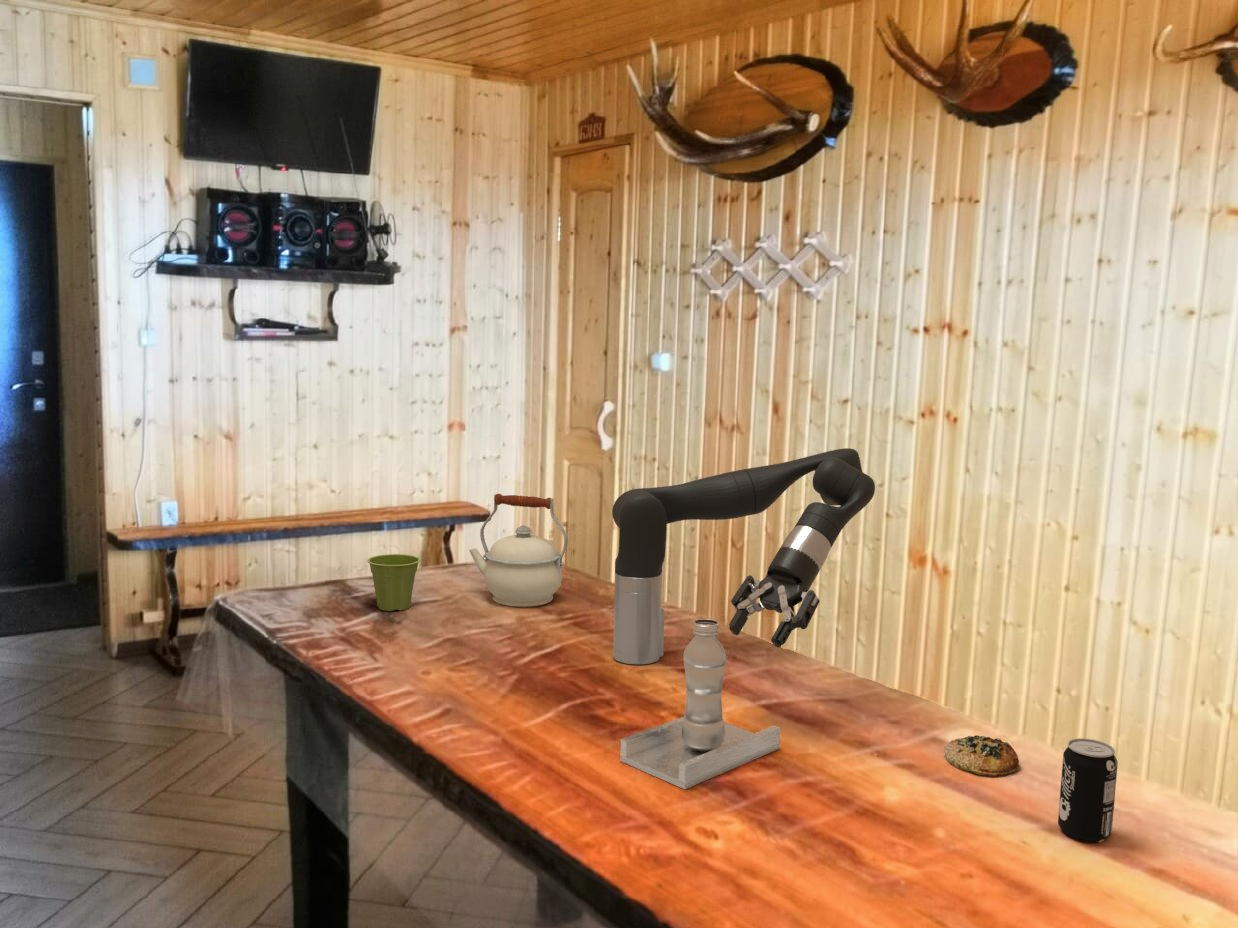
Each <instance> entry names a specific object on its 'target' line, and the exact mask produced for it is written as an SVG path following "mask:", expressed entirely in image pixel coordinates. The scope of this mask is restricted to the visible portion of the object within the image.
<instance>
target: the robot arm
mask: <svg viewBox="0 0 1238 928" xmlns="http://www.w3.org/2000/svg"><path fill="white" fill-rule="evenodd" d="M812 472H814V474H813V476H812V487H813V490H814V491H815V492H816V493H817V494H819V496H820V498H821V500H822V502H818V501H814V502H812V503H809V504H808V505H807V506H806V507H805V509H804V511H803V512H802V514H801V515H800V517H799V519H798V520H797V522H796V524H795V525H794V527H793V529H792V530H791V531H790V532H789V533H788V535H787V536H786V537H785V539H784V541H783V542H782V544H781V545H780V547H779V549H778V551H777V553H776V554H775V556H774V558H773V559H772V560H771V562H770V564H769V566H768V568H767V571H766V575H765V577H764V578H763V579H761V580H757V579H755V578H754V576H753V575H751V574H749V575H747V576H746V578H745V579H744V580H743V582H742V583H741V585H740V586H739V588H738V590H736V592H735V593H734V595H733V596H732V598H731V599H730V603H731V604H732V606H733V607H734V608H735V610H736V611H735V613H734V615H733V617H732V618H731V620H730V621H729V624H728V627H729V631H730V632H731V634H733V635H734V636H739V634H740V633H741V632H742V630H743V628H744V627H745V624H746V623H747V621H748V619H749V618H748V617H749V616H751V615H752V614H755V613H756V612H757V613H759V612H762V611H764V610H766V611H767V610H768V611H775V612H777V613H778V614H782V617H783V621H780V623H779V625H778V627H777V628H776V630H775V631H774V633H773V634H772V636H771V639H770V641H771V643H772V645H773V646H774V647H775V648H781V647H782V646H783V645H784V644H786V642H787V640H788V639H789V637H790V635H791V634H792V631H794V630H795V629H797V628H798V629H799V628H800V629H801V630H805V629H807V628H808V627H809V624H810V621H811V620H812V617H813V616H814V614H815V612H816V610H817V608H818V606H819V604H820V599H819V597H818V596H817V594H816V592H815V591H814V590H812V589H811V590H810V588H811V586H812V585H813V584H814V581H815V580H816V578H817V576H818V574H820V571H821V569H822V568H823V566H824V564H825V563H826V561H827V559H828V556H829V554H830V551H831V549H832V547H833V546H834V543H835V541H836V540H837V538H838V537H839V535H840V533H841V532H842V531H843V529H844V528H845V526H846V525H847V524H848V523H849V522H850V521H851V520H852V518H854V517H855V516H857V514H858V513H860V511H862V510H863V509H864V508H865V507H866V506H867V505H868V504H869V503H870V502H871V500H872V499H873V497H874V495H875V493H876V492H875V491H876V484H875V482H874V479H873V478H872V477H871V476H870V475H868V474H866V473H864V472H863V469H862V464H861V459H860V455H859V452H858V451H857V450H856V449H854V448H850V447H849V448H847V447H846V448H837V449H833V450H829V451H824V452H821V453H817V454H813V455H808V456H804V457H802V458H796V459H793V460H788V461H784V462H780V463H779V462H778V463H774V464H773V463H772V464H768V465H763V466H762V465H761V466H756V467H749V468H743V469H739V470H735V471H734V470H733V471H728V472H723V473H719V474H715V475H711V476H707V477H702V478H699V479H695V480H691V481H688V482H685V483H680V484H674V485H673V484H672V485H667V486H665V485H664V486H657V487H645V488H633V489H629V490H627V491H625V492H624V493H621V494H620V495H619V496H618V498H616V500H615V501H614V503H613V506H612V508H611V509H612V512H611V514H612V519H613V521H614V523H615V525H616V526H617V528H618V529H619V530H618V531H619V533H618V534H619V535H618V553H617V557H616V558H615V559H614V561H615V562H614V595H613V596H614V598H613V599H614V602H613V603H614V604H613V606H614V607H613V648H612V649H613V651H612V652H613V654H612V655H613V659H614V660H615V661H617V662H620V663H623V664H628V665H648V664H654V663H655V662H658V661H660V660H661V659H660V658H663V657H664V645H665V644H664V642H665V641H664V639H665V637H664V635H665V610H664V608H662V586H663V585H662V583H663V582H662V581H663V579H662V578H663V565H664V562H665V558H666V547H667V546H666V545H667V530H668V529H667V527H668V525H669V524H672V523H677V522H681V521H688V520H689V521H692V520H693V521H695V520H697V521H698V520H701V521H715V520H716V521H719V520H732V519H738V518H742V517H747V516H748V517H749V516H753V515H759V514H760V513H763V512H765V511H766V510H767V509H769V507H771V506H772V505H773V504H774V503H775V502H776V501H777V500H778V499H779V498H780V497H781V496H782V495H783V494H784V493H785V491H787V490H788V489H789V488H790V487H791V486H792V485H793V484H795V482H796V481H798V480H799V479H801V478H803V477H804V476H806V475H807V474H810V473H812ZM757 600H759V601H760V602H758V601H757ZM798 604H800V606H799V608H798V610H797V613H796V609H795V606H796V605H798Z"/></svg>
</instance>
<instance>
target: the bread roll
mask: <svg viewBox="0 0 1238 928" xmlns="http://www.w3.org/2000/svg"><path fill="white" fill-rule="evenodd" d="M943 758H945V760H946V761H948V762H949V764H950V765H952V766H953V767H955V768H957V769H959V770H962V771H966V772H971V773H973V774H976V775H979V776H983V777H1003V776H1006V775H1007V776H1008V775H1009V774H1013V773H1015V772H1016V771H1017V769H1019V766H1020V765H1019V763H1020V760H1019V756H1018V754H1017V752H1016V751H1015V749H1014V748H1013V747H1012V745H1010V744H1009V743H1008V741H1002V739H1001V738H998V737H997V738H991V737H990V736H984V735H981V736H980V735H974V736H971V735H968V736H965V737H961V738H955V739H952V740H950V741H949V742H948V743H946V744H945V746H944V755H943Z"/></svg>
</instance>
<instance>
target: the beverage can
mask: <svg viewBox="0 0 1238 928" xmlns="http://www.w3.org/2000/svg"><path fill="white" fill-rule="evenodd" d="M1115 754H1116V750H1115V748H1114V747H1113V746H1112V745H1110V744H1108V743H1106V742H1104V741H1100V740H1098V739H1093V738H1072V739H1070V740H1068V741H1067V747H1066V748H1065V750H1064V751H1063V756H1062V766H1061V767H1062V768H1061V779H1060V793H1059V803H1058V804H1059V806H1058V818H1057V824H1058V826H1059V828H1060V829H1061V831H1062V832H1063V833H1064V834H1065V835H1066V836H1067V837H1070V838H1072V839H1074V840H1077V841H1080V842H1086V843H1101V842H1103V841H1106V839H1108V838H1109V837H1111V835H1112V832H1113V821H1114V810H1115V809H1114V808H1115V799H1116V798H1115V797H1116V787H1117V776H1118V775H1117V774H1118V764H1119V762H1118V758H1117V757H1116V755H1115Z"/></svg>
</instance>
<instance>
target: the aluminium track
mask: <svg viewBox="0 0 1238 928" xmlns="http://www.w3.org/2000/svg"><path fill="white" fill-rule="evenodd" d="M684 716H685V715H684ZM684 716H680V717H678V718H675V719H672V720H670V721H667V722H665V723H662V724H659V725H656V726H654V727H651V728H648V729H644V730H642V731H640V732H637V733H634V734H630V735H629V736H626V737H623V738H620V759H619V760H620V762H621V763H624V764H625V765H628V766H631V767H632V768H635V769H637V770H639V771H641V772H644V773H646V774H649V775H650V776H654V777H656V778H658V779H660V780H662V781H665V782H667V783H668V784H669V783H670V784H671V785H674V786H676V787H678V788H680V789H682V790H687V789H690V788H691V787H694V786H696V785H699V784H701V783H704V782H706V781H707V780H708V781H709V780H710V779H713V778H714V777H717V776H720V775H722V774H724V773H727V772H729V771H732V770H734V769H736V768H737V767H740V766H742V765H744V764H747V763H750V762H752V761H754V760H756V759H758V758H761V757H763V756H765V755H768V754H770V753H772V752H775V751H778V750H779V749H780V740H781V739H780V738H781V727H780V726H777V725H774V724H773V725H771V726H768V727H766V728H763V729H762V730H759V731H757V732H751V731H749V730H747V729H743V728H741V727H739V726H735V725H732V724H729V723H728V722H725V721H724V728H725V736H724V741H723V743H722V745H721V746H720V747H719V748H717V749H714V750H711V751H700V750H694V749H691V748H689V747H688V746H687V745H686V744H685V743H684V741H683V738H682V724H683V719H684Z"/></svg>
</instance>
